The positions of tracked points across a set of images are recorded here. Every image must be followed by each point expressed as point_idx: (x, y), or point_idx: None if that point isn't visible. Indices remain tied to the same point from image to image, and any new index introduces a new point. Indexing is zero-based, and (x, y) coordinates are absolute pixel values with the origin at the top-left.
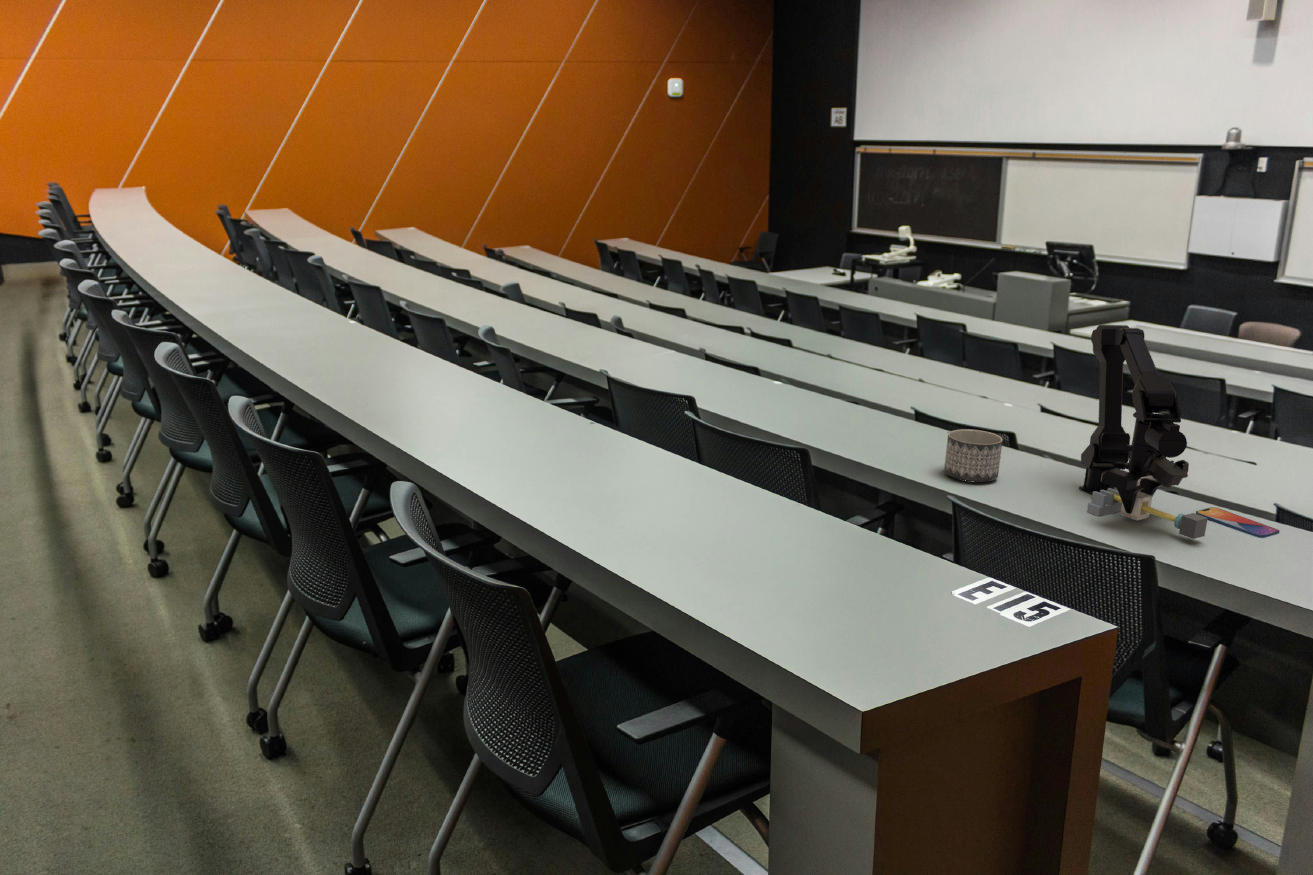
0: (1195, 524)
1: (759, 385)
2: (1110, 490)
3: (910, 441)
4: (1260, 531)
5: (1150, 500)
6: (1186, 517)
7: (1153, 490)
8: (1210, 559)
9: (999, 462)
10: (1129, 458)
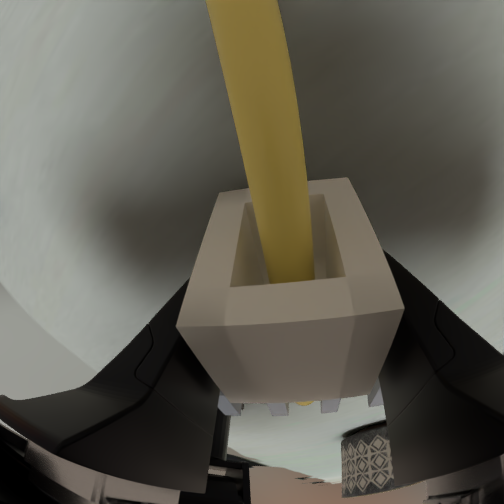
0: None
1: (322, 474)
2: (287, 407)
3: (325, 458)
4: None
5: (205, 286)
6: None
7: (138, 380)
8: None
9: (368, 457)
10: None
